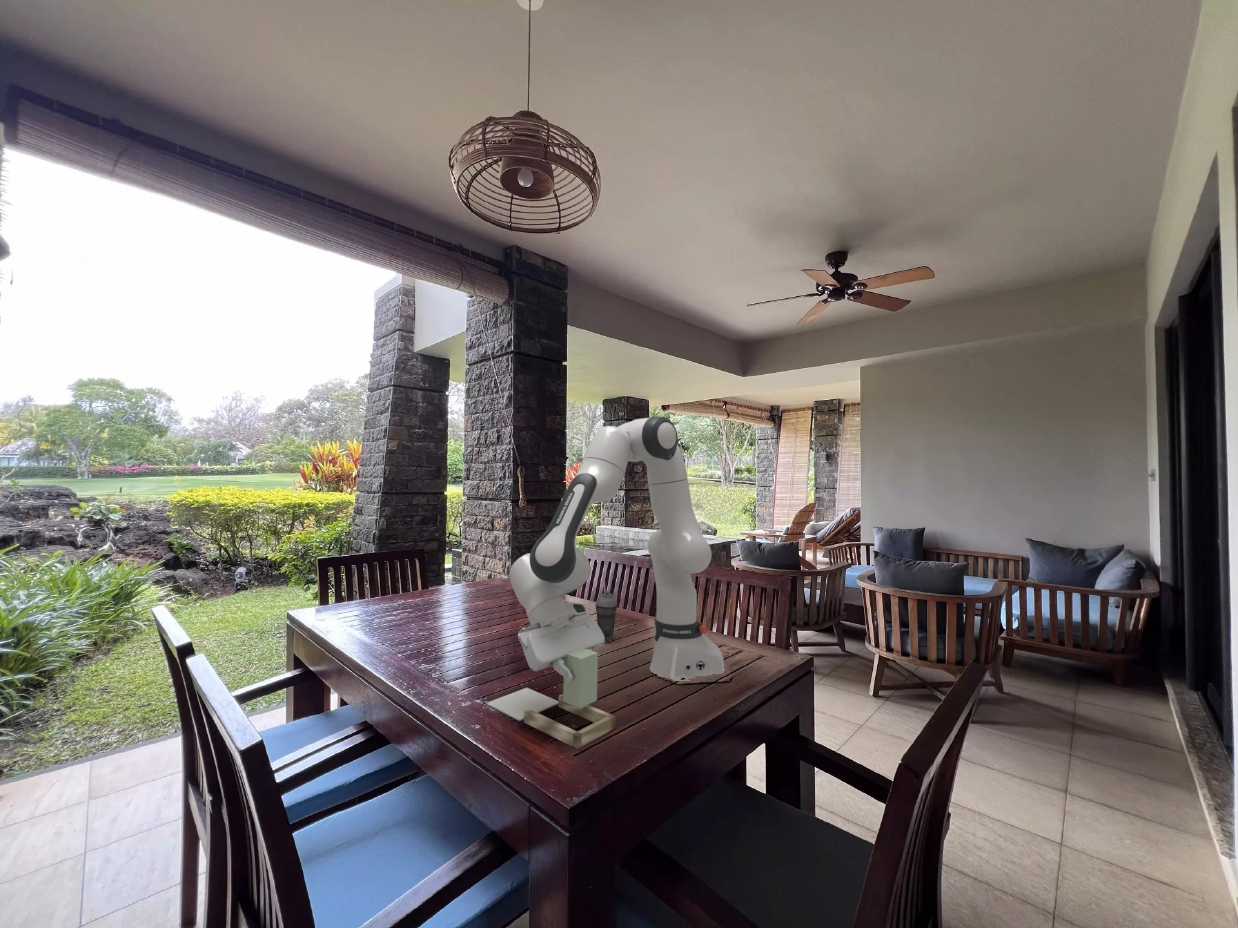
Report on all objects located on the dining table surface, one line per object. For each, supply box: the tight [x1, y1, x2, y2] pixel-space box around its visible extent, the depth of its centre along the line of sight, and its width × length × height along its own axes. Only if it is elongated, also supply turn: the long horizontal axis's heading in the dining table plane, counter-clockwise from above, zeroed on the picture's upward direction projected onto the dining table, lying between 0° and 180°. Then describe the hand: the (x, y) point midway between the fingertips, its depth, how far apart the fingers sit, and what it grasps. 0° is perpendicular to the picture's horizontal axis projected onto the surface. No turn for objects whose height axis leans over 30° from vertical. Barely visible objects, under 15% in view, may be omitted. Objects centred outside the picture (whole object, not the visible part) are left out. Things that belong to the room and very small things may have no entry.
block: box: [562, 648, 599, 708], centre depth 108 cm, size 5×5×10 cm
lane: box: [523, 693, 616, 750], centre depth 109 cm, size 16×11×2 cm
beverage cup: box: [594, 578, 618, 642], centre depth 166 cm, size 7×7×20 cm
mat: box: [485, 687, 559, 722], centre depth 119 cm, size 12×12×1 cm
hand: (582, 675), depth 107 cm, fingers closed on block, 5 cm apart
